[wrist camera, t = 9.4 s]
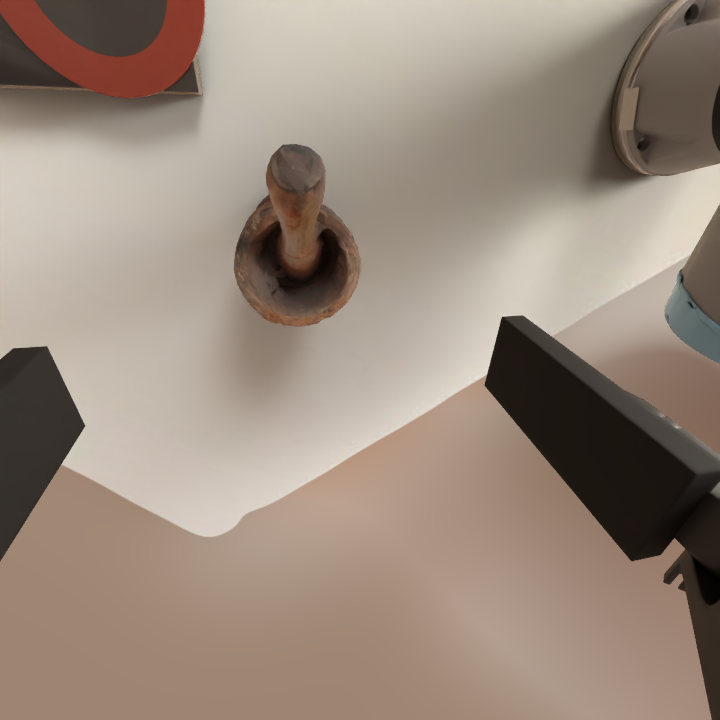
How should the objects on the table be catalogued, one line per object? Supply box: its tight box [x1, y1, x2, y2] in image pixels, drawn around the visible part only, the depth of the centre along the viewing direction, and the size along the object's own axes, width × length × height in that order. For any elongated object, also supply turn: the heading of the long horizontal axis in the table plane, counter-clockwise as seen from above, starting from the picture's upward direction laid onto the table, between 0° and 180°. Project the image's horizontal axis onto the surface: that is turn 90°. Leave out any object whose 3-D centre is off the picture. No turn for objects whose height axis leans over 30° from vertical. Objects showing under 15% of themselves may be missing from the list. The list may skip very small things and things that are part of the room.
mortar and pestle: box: [234, 144, 361, 326], centre depth 27 cm, size 12×9×20 cm
